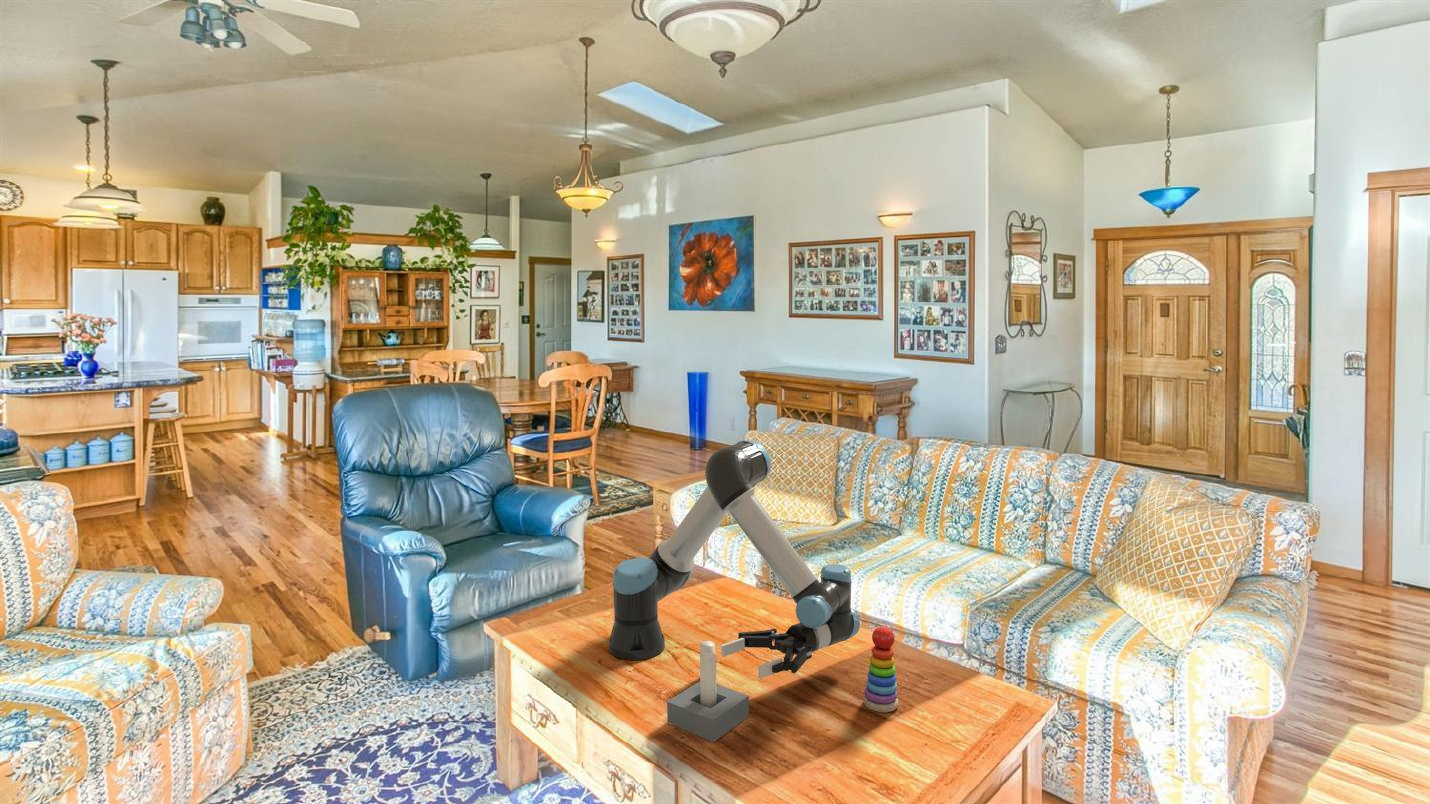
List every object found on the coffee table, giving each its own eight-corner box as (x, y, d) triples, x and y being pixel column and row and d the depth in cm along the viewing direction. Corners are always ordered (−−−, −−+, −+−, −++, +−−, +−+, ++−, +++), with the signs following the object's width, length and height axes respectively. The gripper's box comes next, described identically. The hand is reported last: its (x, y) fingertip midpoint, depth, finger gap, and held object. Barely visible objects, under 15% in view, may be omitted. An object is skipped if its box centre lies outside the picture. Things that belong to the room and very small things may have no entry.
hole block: (667, 722, 175) (667, 701, 174) (703, 699, 185) (703, 679, 185) (713, 742, 167) (713, 720, 167) (748, 716, 177) (748, 695, 177)
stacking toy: (899, 715, 177) (901, 636, 175) (863, 712, 179) (864, 634, 176) (898, 698, 185) (899, 622, 183) (863, 695, 187) (864, 619, 184)
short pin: (697, 679, 195) (697, 644, 194) (706, 673, 198) (706, 639, 197) (709, 683, 193) (708, 648, 192) (717, 678, 196) (717, 643, 194)
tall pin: (697, 720, 176) (696, 657, 174) (707, 713, 179) (706, 651, 177) (710, 725, 174) (709, 661, 172) (719, 719, 177) (719, 655, 175)
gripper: (844, 670, 184) (776, 698, 171) (773, 634, 203) (708, 657, 191) (845, 639, 183) (776, 665, 170) (774, 606, 202) (707, 628, 190)
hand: (740, 661), depth 180 cm, fingers open, 13 cm apart
